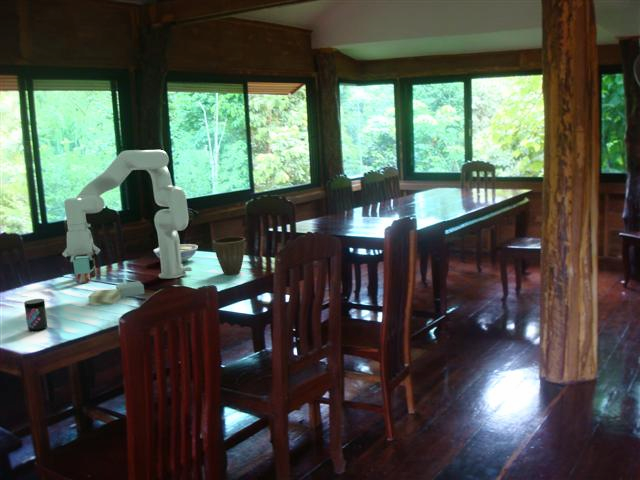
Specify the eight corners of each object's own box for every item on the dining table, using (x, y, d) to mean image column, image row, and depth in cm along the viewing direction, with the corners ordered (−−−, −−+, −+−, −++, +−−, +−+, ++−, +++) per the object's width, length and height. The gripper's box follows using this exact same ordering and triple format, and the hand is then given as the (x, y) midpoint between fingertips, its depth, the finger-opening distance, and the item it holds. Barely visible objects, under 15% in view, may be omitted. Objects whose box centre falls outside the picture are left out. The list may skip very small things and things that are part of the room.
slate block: (140, 289, 299) (139, 281, 298) (144, 294, 290) (143, 285, 289) (116, 293, 295) (115, 284, 294) (120, 298, 286) (119, 288, 285)
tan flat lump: (120, 298, 286) (119, 288, 285) (114, 304, 276) (113, 294, 275) (97, 299, 286) (95, 290, 285) (89, 306, 276) (88, 296, 275)
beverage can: (86, 284, 315) (83, 258, 313) (74, 284, 317) (70, 258, 315) (93, 280, 321) (90, 255, 319) (81, 281, 323) (78, 256, 321)
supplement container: (25, 329, 246) (21, 301, 244) (44, 325, 250) (40, 297, 248) (31, 333, 241) (27, 304, 239) (50, 328, 245) (47, 300, 243)
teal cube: (93, 269, 290) (91, 255, 289) (89, 273, 284) (87, 259, 283) (78, 271, 290) (76, 257, 288) (75, 274, 284) (72, 260, 282)
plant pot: (227, 278, 309) (224, 243, 307) (209, 274, 321) (206, 240, 318) (254, 272, 319) (251, 238, 316) (235, 268, 330) (233, 235, 327)
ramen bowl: (194, 265, 343) (192, 249, 341) (149, 268, 343) (147, 252, 342) (203, 256, 367) (202, 241, 366) (161, 258, 368) (159, 243, 366)
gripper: (100, 224, 287) (106, 265, 291) (59, 228, 286) (65, 269, 290) (96, 227, 280) (102, 269, 283) (53, 231, 279) (60, 273, 282)
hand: (83, 269), depth 287 cm, fingers closed on teal cube, 6 cm apart
